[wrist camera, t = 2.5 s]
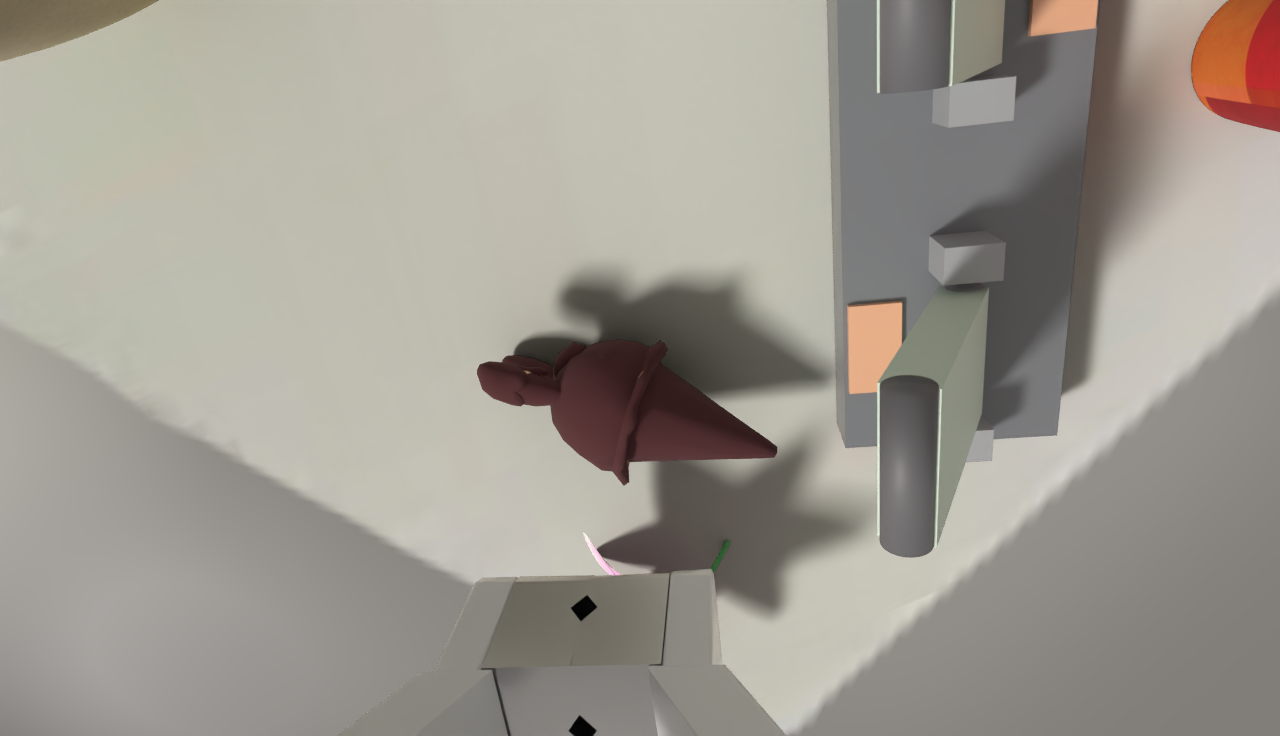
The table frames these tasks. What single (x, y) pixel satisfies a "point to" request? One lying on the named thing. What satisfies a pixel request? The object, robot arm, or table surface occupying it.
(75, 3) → the plant pot
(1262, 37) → the paper cup
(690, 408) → the icecream
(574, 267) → the table surface
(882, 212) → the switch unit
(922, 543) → the lever
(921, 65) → the lever
